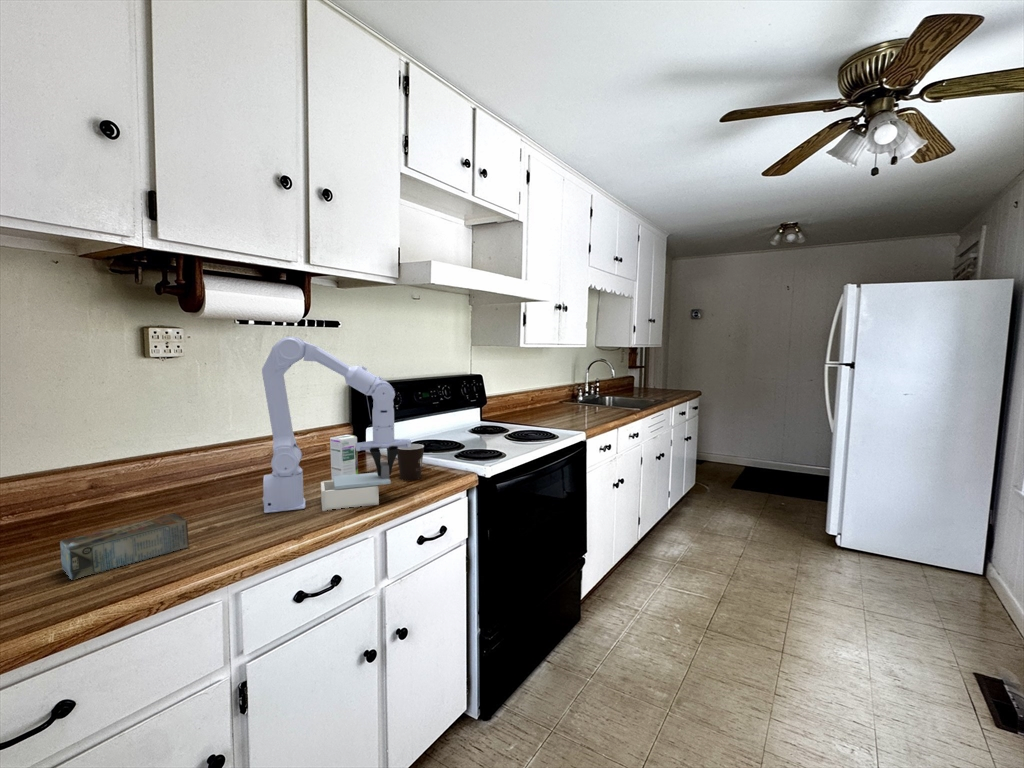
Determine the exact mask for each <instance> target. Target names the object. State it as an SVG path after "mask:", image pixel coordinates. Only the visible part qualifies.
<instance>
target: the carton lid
mask: <svg viewBox="0 0 1024 768" xmlns="http://www.w3.org/2000/svg"><path fill="white" fill-rule="evenodd" d="M380 466H381V476H378V474H377V471H376V472H369V473H368V472H367V473H358V474H354V475H343V476H333V481H334V487H335V489H344V488H354V487H364V486H373V485H378V486H381V485H390V484H392V483H391V478H390V475H389V465H388V461H380Z"/></svg>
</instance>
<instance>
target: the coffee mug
mask: <svg viewBox="0 0 1024 768" xmlns="http://www.w3.org/2000/svg"><path fill="white" fill-rule="evenodd" d="M424 448H425V445H424V444H419V443H411V447H399V448H398V454H397V456H396V458H397V463H398V470H399V479H400V478H401V479H400V480H402V479H403V480H402V481H414V480H413V479H417V480H419V479H421V478H422V467H423V458H424V451H425V449H424ZM420 477H421V478H420ZM418 478H419V479H418Z"/></svg>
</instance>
